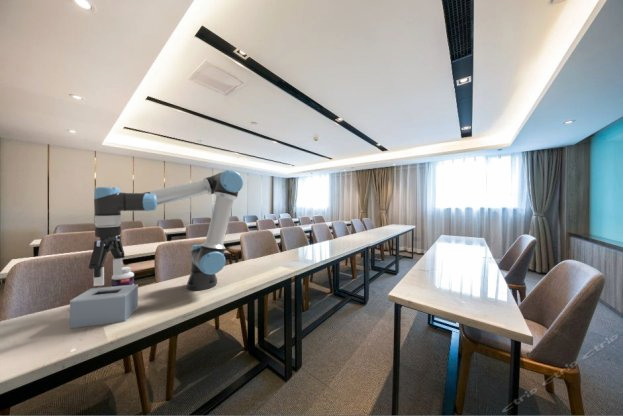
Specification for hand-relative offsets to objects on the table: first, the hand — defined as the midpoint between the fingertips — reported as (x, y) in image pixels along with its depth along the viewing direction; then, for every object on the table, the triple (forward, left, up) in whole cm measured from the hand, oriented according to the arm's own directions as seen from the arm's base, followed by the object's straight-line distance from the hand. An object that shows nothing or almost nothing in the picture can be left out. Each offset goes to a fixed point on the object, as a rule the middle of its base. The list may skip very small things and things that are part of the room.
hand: (108, 279), depth 86 cm
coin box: (0, 0, -15) cm, 15 cm away
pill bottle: (+2, -18, -15) cm, 24 cm away
